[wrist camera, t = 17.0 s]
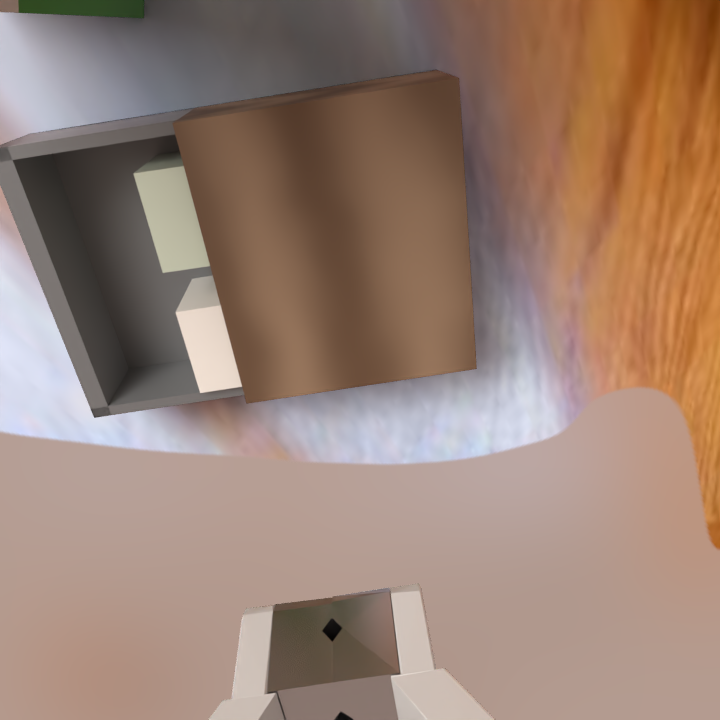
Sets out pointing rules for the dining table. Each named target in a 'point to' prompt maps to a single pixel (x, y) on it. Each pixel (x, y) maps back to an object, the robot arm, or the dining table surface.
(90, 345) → the tray
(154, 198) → the sage tile
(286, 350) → the brown box sleeve
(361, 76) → the dining table surface
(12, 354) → the dining table surface
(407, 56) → the dining table surface
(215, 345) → the white tile
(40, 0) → the hardback book
